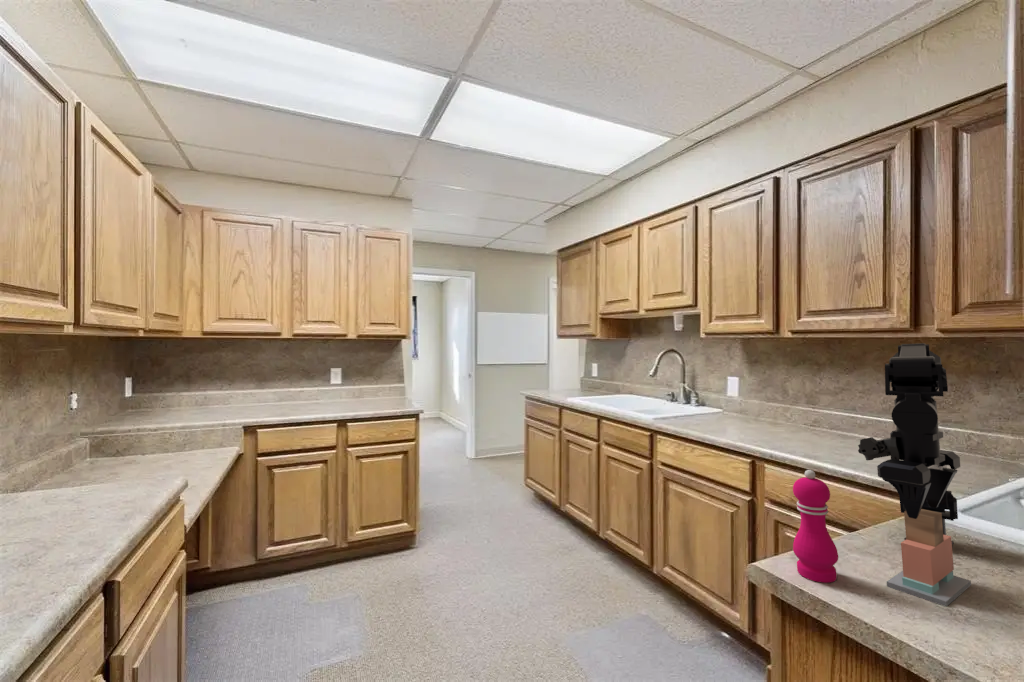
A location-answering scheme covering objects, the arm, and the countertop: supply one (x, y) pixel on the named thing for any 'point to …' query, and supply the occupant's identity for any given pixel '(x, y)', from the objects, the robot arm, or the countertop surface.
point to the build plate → (932, 588)
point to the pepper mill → (814, 531)
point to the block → (925, 528)
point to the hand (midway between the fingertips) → (923, 512)
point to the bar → (927, 560)
